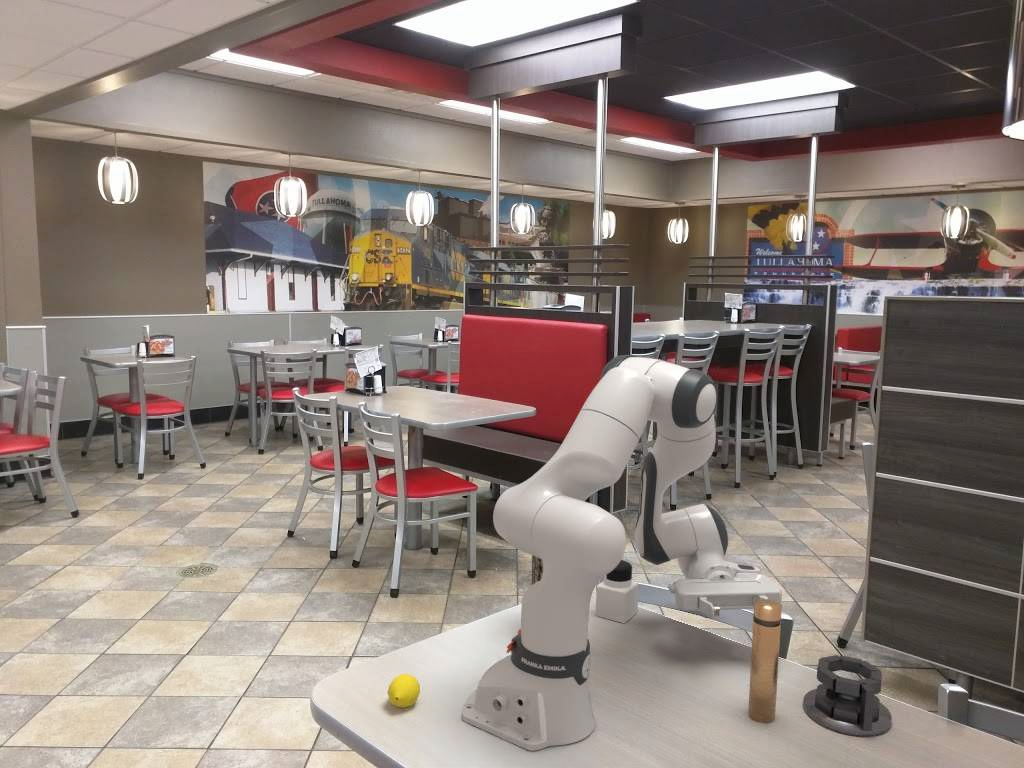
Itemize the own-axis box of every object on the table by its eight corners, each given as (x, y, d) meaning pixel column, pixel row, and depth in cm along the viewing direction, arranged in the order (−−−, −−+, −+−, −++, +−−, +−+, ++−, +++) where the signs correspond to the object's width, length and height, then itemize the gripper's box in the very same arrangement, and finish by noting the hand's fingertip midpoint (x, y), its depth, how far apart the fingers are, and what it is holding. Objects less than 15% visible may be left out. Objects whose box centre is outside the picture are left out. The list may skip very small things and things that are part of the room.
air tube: (745, 718, 133) (752, 606, 131) (750, 706, 137) (756, 597, 135) (773, 725, 131) (780, 611, 129) (776, 712, 135) (783, 602, 133)
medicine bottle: (638, 612, 176) (639, 561, 174) (624, 624, 170) (626, 570, 168) (609, 605, 179) (610, 554, 178) (595, 616, 173) (596, 564, 172)
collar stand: (798, 723, 132) (801, 678, 131) (807, 685, 145) (810, 644, 144) (890, 745, 126) (894, 698, 125) (891, 704, 139) (894, 661, 138)
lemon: (396, 696, 140) (397, 666, 140) (424, 700, 139) (426, 670, 139) (380, 712, 133) (382, 680, 133) (410, 716, 132) (412, 684, 132)
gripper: (666, 568, 157) (686, 596, 144) (765, 566, 159) (794, 594, 145) (665, 598, 158) (684, 629, 144) (764, 596, 159) (792, 626, 146)
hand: (740, 611), depth 145 cm, fingers open, 8 cm apart
